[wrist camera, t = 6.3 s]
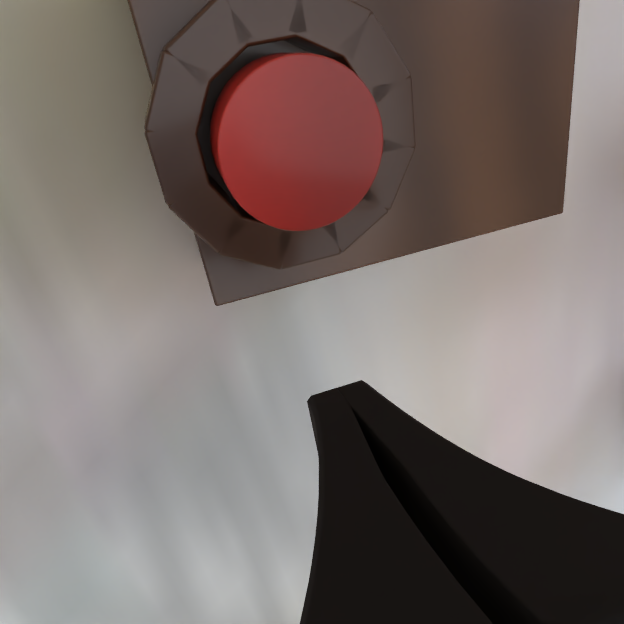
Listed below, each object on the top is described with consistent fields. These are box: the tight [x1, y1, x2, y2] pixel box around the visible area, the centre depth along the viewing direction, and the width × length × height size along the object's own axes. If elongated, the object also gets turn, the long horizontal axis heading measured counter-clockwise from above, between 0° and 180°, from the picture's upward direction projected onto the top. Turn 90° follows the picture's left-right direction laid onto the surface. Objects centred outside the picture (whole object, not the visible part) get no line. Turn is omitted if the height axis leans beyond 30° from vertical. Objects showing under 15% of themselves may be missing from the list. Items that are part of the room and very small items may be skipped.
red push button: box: [210, 53, 383, 231], centre depth 13 cm, size 4×4×2 cm
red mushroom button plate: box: [128, 0, 580, 306], centre depth 16 cm, size 13×10×6 cm
